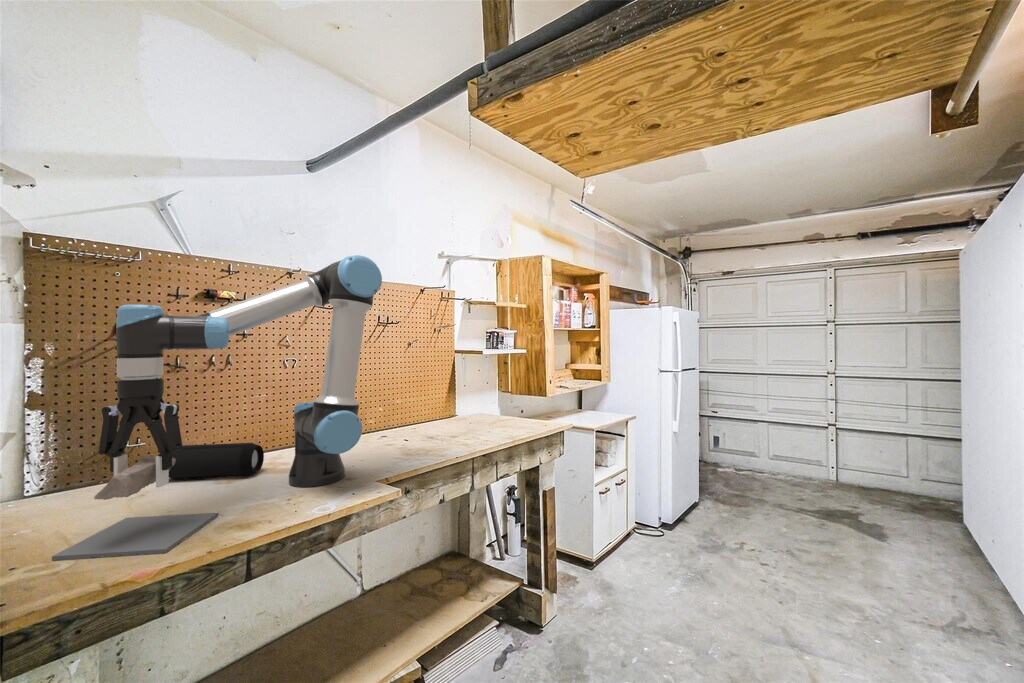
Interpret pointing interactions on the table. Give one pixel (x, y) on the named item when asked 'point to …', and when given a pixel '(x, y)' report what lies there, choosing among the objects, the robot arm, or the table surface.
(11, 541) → the table surface
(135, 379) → the robot arm
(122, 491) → the concrete fragment
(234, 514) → the table surface
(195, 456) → the portable speaker
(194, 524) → the rubber mat
